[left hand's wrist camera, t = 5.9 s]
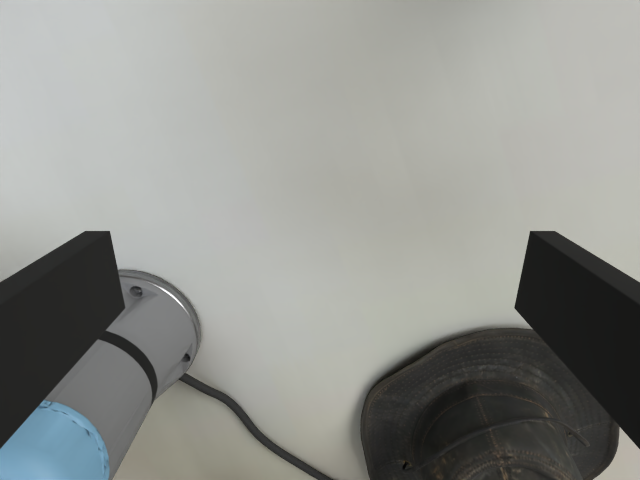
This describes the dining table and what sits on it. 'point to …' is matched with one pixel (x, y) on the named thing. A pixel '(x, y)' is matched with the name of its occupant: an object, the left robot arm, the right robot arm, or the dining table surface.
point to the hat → (486, 415)
